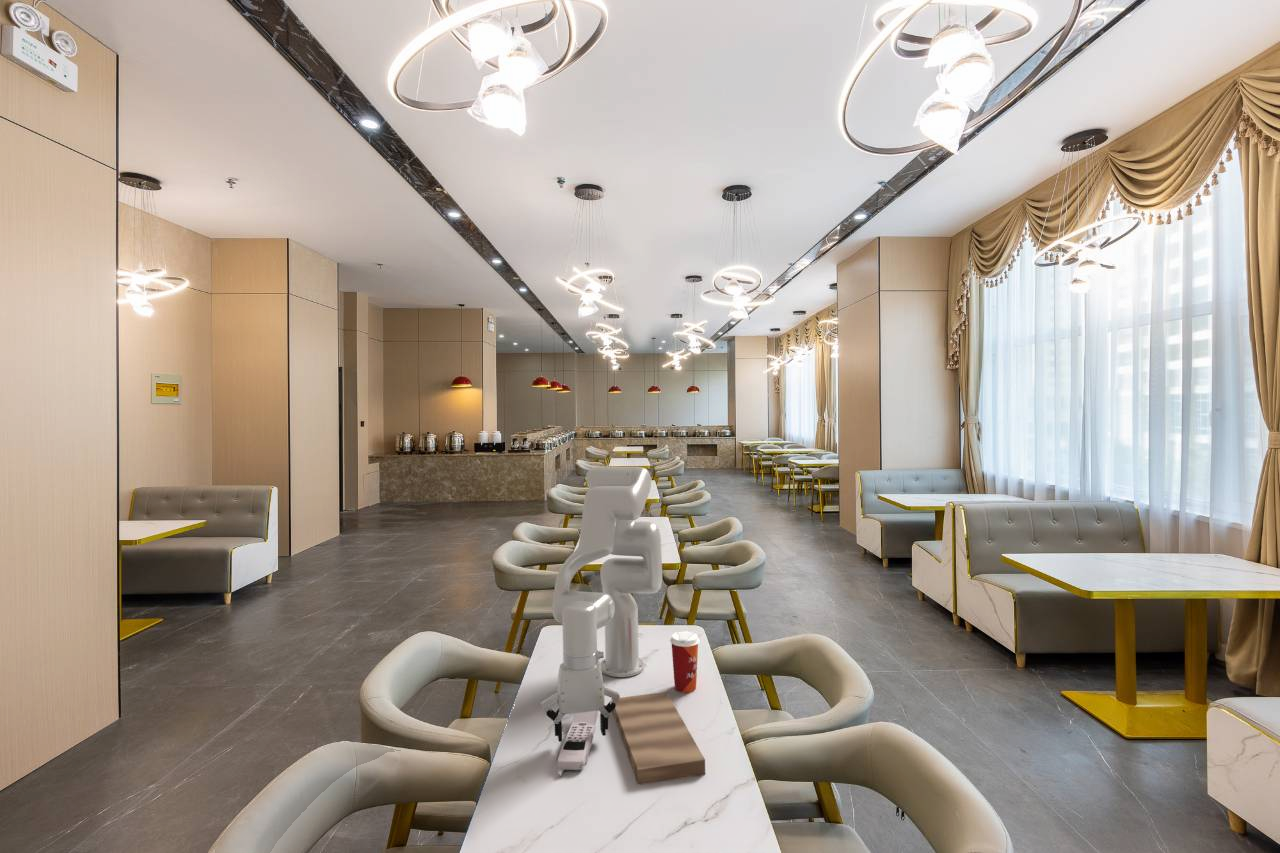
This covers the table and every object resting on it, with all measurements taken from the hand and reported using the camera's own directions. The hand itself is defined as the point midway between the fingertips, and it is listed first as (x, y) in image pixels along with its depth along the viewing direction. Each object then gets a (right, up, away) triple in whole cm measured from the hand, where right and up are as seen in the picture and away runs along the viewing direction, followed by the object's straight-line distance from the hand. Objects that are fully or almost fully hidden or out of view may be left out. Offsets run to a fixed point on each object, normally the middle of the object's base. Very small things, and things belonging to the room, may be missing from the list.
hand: (581, 735), depth 136 cm
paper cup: (+25, -1, +26) cm, 36 cm away
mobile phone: (0, -3, +1) cm, 3 cm away
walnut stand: (+16, -2, +2) cm, 16 cm away
